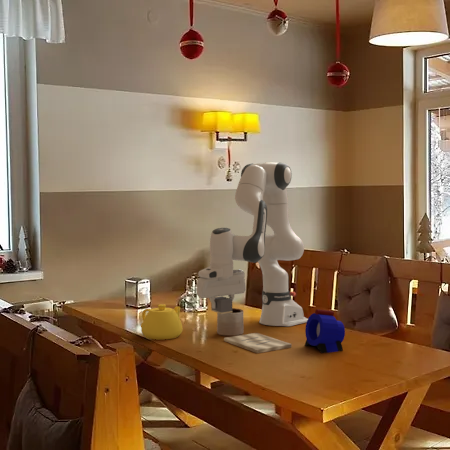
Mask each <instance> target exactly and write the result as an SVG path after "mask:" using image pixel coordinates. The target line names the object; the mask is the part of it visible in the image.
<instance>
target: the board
mask: <svg viewBox="0 0 450 450" xmlns="http://www.w3.org/2000/svg"><path fill="white" fill-rule="evenodd" d="M223 341H224V342H226V343H228V344H231V345H234V346H236V347H238V348H239V347H240V348H242V349H245V350H247V351H251V352H253V353H255V354H261V353H267V352H271V351H272V352H273V351H278V350H279V351H280V350H283V349H289V348H290V349H291V348H292V347H293V346H292V343H290V342H286V341H283V340H280V339H277V338H274V337H272V336H268V335H265V334H263V333H259V332H253V333H252V332H251V333H248V334H241V335H239V336H226V337H224V338H223Z"/></svg>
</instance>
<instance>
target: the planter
mask: <svg viewBox="0 0 450 450" xmlns="http://www.w3.org/2000/svg"><path fill="white" fill-rule="evenodd" d="M216 314H217V317H216V324H217V325H216V333H217V334H218V335H219V336H223V337H233V336H239V335H244V332H245V331H244V330H245V329H244V328H245V327H244V325H245V324H244V310H243V309H241V308H234V307H232V312H231V313H224V314H220V313H217V312H216Z"/></svg>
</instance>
